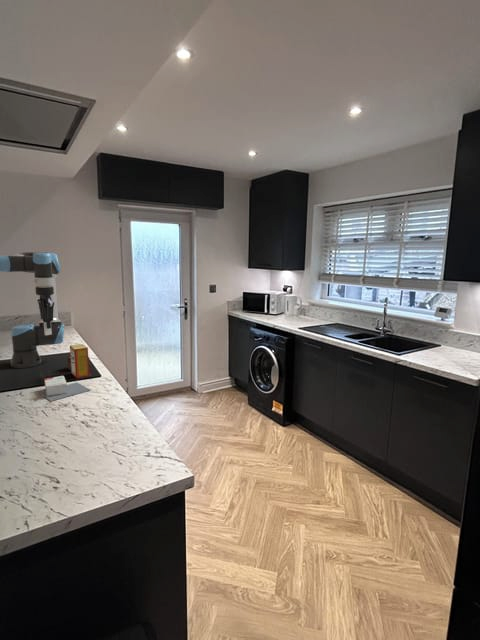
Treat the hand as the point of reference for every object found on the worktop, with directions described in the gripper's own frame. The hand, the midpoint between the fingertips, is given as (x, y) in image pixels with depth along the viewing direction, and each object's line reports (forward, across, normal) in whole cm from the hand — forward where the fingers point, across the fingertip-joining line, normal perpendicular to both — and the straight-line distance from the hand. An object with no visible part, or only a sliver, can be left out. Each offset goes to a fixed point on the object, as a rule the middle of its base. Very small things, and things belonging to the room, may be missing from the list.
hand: (48, 334), depth 171 cm
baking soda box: (+26, -2, +15) cm, 30 cm away
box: (+26, -13, +18) cm, 34 cm away
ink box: (+22, +7, -2) cm, 23 cm away
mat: (+25, +16, -1) cm, 29 cm away
